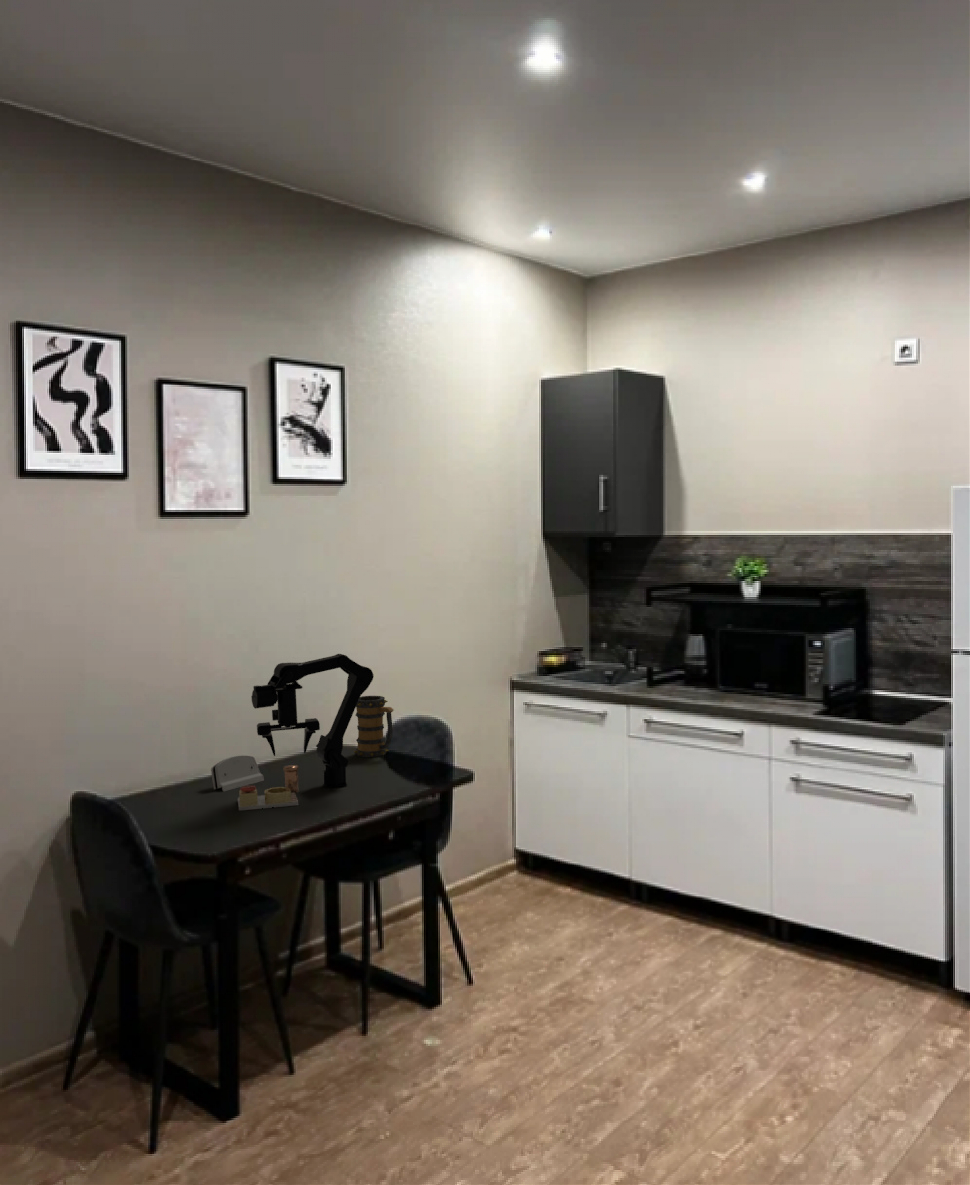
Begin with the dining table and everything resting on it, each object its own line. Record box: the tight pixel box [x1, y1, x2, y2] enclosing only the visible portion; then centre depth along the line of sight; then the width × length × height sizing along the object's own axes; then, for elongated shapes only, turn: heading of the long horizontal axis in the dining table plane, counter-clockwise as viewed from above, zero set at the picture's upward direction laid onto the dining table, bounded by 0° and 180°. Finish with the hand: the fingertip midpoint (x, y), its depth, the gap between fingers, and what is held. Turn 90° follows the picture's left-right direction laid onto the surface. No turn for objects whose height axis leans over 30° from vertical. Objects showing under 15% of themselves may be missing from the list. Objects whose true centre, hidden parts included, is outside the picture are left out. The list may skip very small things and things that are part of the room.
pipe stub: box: [283, 764, 300, 794], centre depth 319 cm, size 5×5×8 cm
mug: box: [353, 695, 395, 758], centre depth 367 cm, size 13×17×20 cm
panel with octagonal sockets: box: [237, 784, 299, 811], centre depth 307 cm, size 17×11×5 cm, turn 105°
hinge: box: [210, 755, 265, 792], centre depth 330 cm, size 17×5×10 cm, turn 142°
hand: (289, 754), depth 318 cm, fingers open, 9 cm apart
